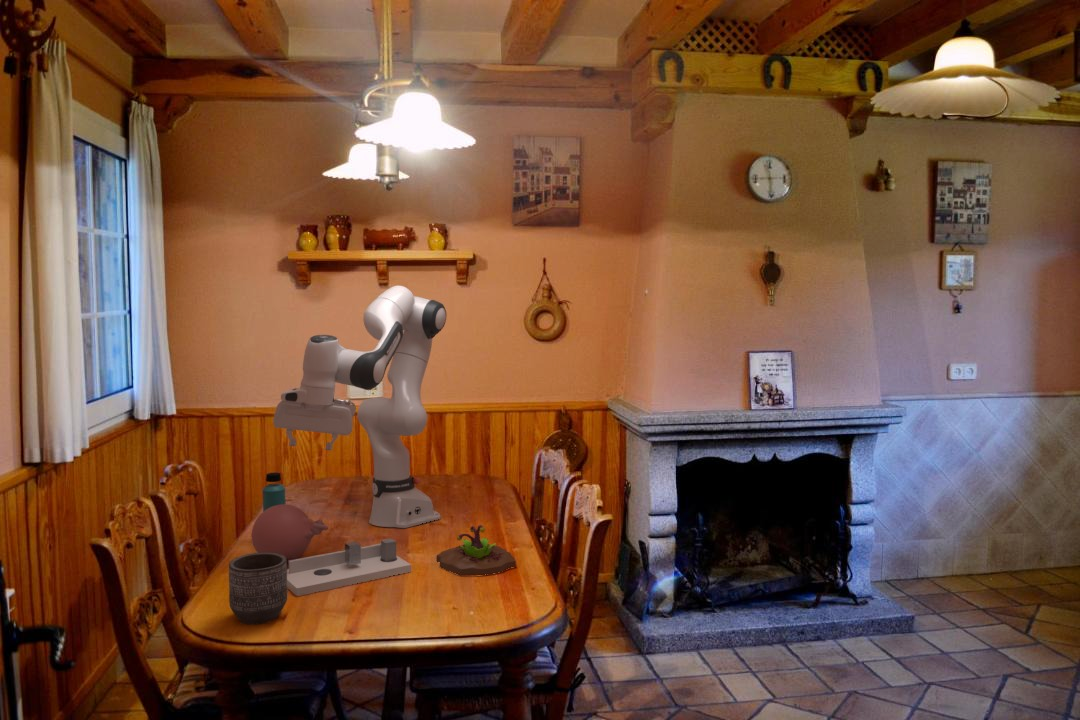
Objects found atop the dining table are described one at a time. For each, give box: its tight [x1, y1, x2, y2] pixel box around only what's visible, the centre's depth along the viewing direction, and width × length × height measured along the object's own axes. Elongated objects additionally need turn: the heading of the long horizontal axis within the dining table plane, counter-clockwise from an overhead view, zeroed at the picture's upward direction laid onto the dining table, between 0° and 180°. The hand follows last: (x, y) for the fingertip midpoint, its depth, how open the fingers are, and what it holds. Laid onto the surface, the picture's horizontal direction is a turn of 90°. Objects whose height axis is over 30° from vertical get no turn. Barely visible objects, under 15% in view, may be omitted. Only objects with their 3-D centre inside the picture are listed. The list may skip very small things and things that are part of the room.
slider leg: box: [344, 540, 362, 565], centre depth 207 cm, size 3×4×5 cm, turn 36°
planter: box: [228, 552, 288, 625], centre depth 178 cm, size 12×12×13 cm
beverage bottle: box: [262, 471, 287, 512], centre depth 232 cm, size 6×7×20 cm
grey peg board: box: [287, 538, 412, 597], centre depth 205 cm, size 30×14×7 cm, turn 126°
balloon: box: [251, 504, 329, 563], centre depth 215 cm, size 15×20×15 cm
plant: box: [436, 524, 517, 576], centre depth 216 cm, size 20×20×11 cm
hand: (310, 447), depth 213 cm, fingers open, 8 cm apart
